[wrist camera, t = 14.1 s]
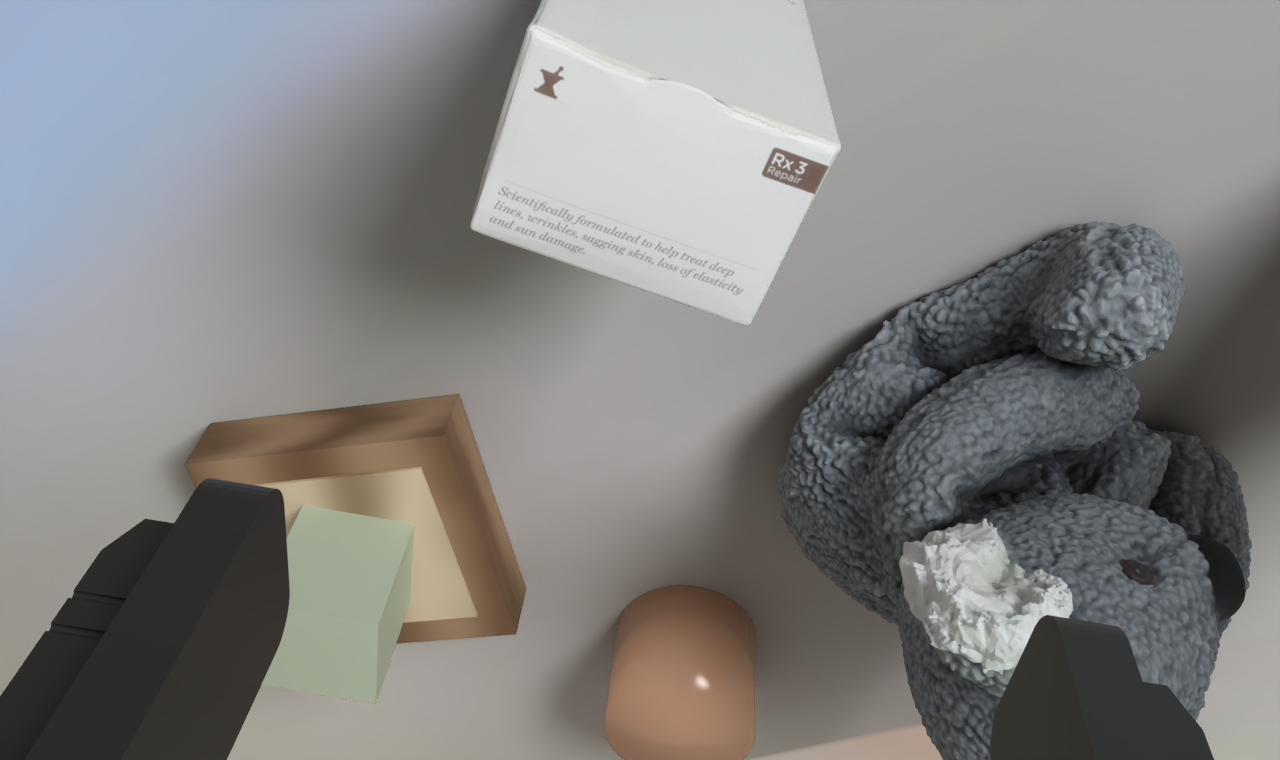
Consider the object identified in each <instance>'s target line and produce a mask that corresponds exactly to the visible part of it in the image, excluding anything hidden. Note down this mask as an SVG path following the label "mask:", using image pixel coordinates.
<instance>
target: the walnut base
mask: <svg viewBox="0 0 1280 760" xmlns="http://www.w3.org/2000/svg"><path fill="white" fill-rule="evenodd" d="M185 466H186V468H187V470H188V472H189V474H190V476H191V478H192V480H193V482H194V483H195V485H196V487H198V486H199V484H200V483H201V482H202V481H204V480H205V479H208V478H212V479H219V480H225V481H231V482H237V483H244V484H250V485H256V486H262V487H269V488H275V489H279V490H280V491H281V493H282V495H283V499H284V508H285V523H286V539H287V537H288V535H289V533H290V531H291V528H292V526H293V524H294V522H295V520H296V518H297V516H298V514H299V512H300V510H301V508H302V506H303V505H306V506H312V507H318V508H324V509H330V510H336V511H341V512H347V513H353V514H359V515H365V516H371V517H376V518H382V519H388V520H394V521H400V522H406V523H412V524H414V542H413V560H412V578H411V595H410V604H409V607H408V610H407V613H406V616H405V619H404V622H403V625H402V628H401V631H400V634H399V637H398V640H397V643H409V642H422V641H435V640H448V639H460V638H473V637H486V636H499V635H512V634H516V632H517V628H518V623H519V619H520V614H521V610H522V605H523V601H524V597H525V592H526V587H525V584H524V581H523V578H522V575H521V573H520V570H519V567H518V564H517V561H516V558H515V555H514V552H513V549H512V546H511V544H510V541H509V538H508V535H507V532H506V529H505V526H504V523H503V520H502V517H501V514H500V512H499V509H498V506H497V503H496V500H495V497H494V494H493V491H492V488H491V485H490V483H489V480H488V477H487V474H486V471H485V468H484V465H483V462H482V459H481V456H480V454H479V451H478V448H477V445H476V442H475V439H474V436H473V433H472V430H471V427H470V425H469V422H468V419H467V416H466V413H465V410H464V407H463V404H462V401H461V398H460V396H459V394H457V395H449V396H440V397H432V398H423V399H415V400H406V401H398V402H389V403H381V404H372V405H363V406H355V407H346V408H338V409H329V410H321V411H312V412H304V413H295V414H287V415H278V416H269V417H261V418H252V419H244V420H235V421H227V422H218V423H211V424H210V425H209V427H208V429H207V430H206V432H205V433H204V435H203V436H202V438H201V439H200V441H199V443H198V444H197V446H196V447H195V449H194V450H193V452H192V454H191V455H190V457H189V458H188V460H187V461H186V463H185Z"/></svg>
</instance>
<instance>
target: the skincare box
mask: <svg viewBox="0 0 1280 760" xmlns="http://www.w3.org/2000/svg"><path fill="white" fill-rule="evenodd" d="M840 149H841V145H840V141H839V137H838V134H837V130H836V126H835V122H834V118H833V115H832V111H831V107H830V103H829V100H828V96H827V92H826V88H825V85H824V81H823V76H822V72H821V68H820V63H819V60H818V56H817V52H816V48H815V44H814V41H813V37H812V33H811V29H810V25H809V21H808V17H807V13H806V9H805V5H804V1H803V0H541V2H540V5H539V7H538V9H537V12H536V14H535V16H534V18H533V20H532V22H531V23H530V24H529V26H528V27H527V30H526V33H525V36H524V39H523V43H522V46H521V49H520V52H519V56H518V59H517V62H516V65H515V68H514V71H513V74H512V77H511V80H510V84H509V87H508V90H507V94H506V97H505V100H504V104H503V107H502V110H501V114H500V117H499V121H498V124H497V127H496V131H495V134H494V138H493V141H492V145H491V148H490V151H489V155H488V158H487V162H486V165H485V169H484V172H483V176H482V180H481V184H480V188H479V191H478V195H477V199H476V203H475V207H474V211H473V215H472V219H471V223H470V228H471V229H472V230H473V231H476V232H478V233H481V234H483V235H486V236H489V237H492V238H494V239H497V240H500V241H503V242H506V243H509V244H512V245H515V246H518V247H521V248H523V249H526V250H529V251H532V252H535V253H538V254H540V255H543V256H546V257H549V258H552V259H555V260H558V261H560V262H563V263H566V264H569V265H572V266H575V267H578V268H580V269H583V270H586V271H589V272H592V273H595V274H598V275H600V276H603V277H606V278H609V279H612V280H615V281H617V282H620V283H623V284H626V285H629V286H632V287H635V288H638V289H641V290H643V291H646V292H649V293H652V294H655V295H658V296H661V297H664V298H667V299H669V300H672V301H675V302H678V303H681V304H684V305H687V306H690V307H693V308H695V309H698V310H701V311H704V312H707V313H710V314H713V315H716V316H718V317H721V318H724V319H727V320H730V321H733V322H735V323H738V324H741V325H745V326H748V325H750V323H751V321H752V319H753V317H754V315H755V313H756V311H757V310H758V308H759V306H760V304H761V302H762V300H763V298H764V296H765V294H766V292H767V290H768V288H769V286H770V284H771V282H772V280H773V278H774V276H775V274H776V272H777V270H778V268H779V266H780V264H781V262H782V260H783V258H784V256H785V254H786V252H787V250H788V248H789V246H790V244H791V242H792V240H793V238H794V237H795V235H796V233H797V231H798V229H799V227H800V225H801V223H802V221H803V219H804V217H805V215H806V214H807V212H808V210H809V208H810V206H811V204H812V202H813V200H814V198H815V196H816V195H817V193H818V191H819V189H820V187H821V185H822V183H823V181H824V179H825V178H826V176H827V174H828V172H829V170H830V168H831V166H832V164H833V162H834V161H835V159H836V157H837V155H838V153H839V151H840Z"/></svg>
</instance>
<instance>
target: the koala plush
mask: <svg viewBox="0 0 1280 760" xmlns="http://www.w3.org/2000/svg"><path fill="white" fill-rule="evenodd" d="M1183 276H1184V274H1183V271H1182V266H1181V265H1180V264H1179V256H1178V254H1176V253H1175V251H1174V250H1173V249H1172V244H1171V243H1170V242H1167V241H1165V240H1164V239H1163V238H1162V237H1161V236H1160V235H1158V233H1157V232H1156V231H1154V230H1152V229H1150V228H1145V227H1142V226H1141V227H1140V226H1137V225H1136V224H1132V225H1129V226H1126V227H1120V226H1119V225H1117V224H1115V223H1109V224H1108V223H1106V222H1101V223H1098V222H1091V223H1089V224H1087V223H1086V224H1084V225H1082V224H1080V225H1075V226H1074V227H1073V228H1069V229H1066V230H1064V231H1062V232H1061V233H1058V234H1056V235H1055V237H1052V238H1050V237H1048V238H1047V239H1046V241H1038V242H1036V243H1035V244H1033V245H1032V247H1028V248H1027V250H1026V251H1024V252H1023V253H1019V254H1017V255H1016V256H1012V257H1010V258H1009V259H1008V260H1005V259H1003V260H1000V261H999V262H998V263H997V264H996V267H994V266H992V267H990V268H987V269H986V270H985V271H983V272H982V273H979V274H978V276H977V278H973V279H969V280H967V281H966V282H965V283H961V284H957V285H953V286H952V287H951V288H949V289H946V290H941V291H939V292H933V293H932V294H931V295H930V296H927V297H921V299H920V300H919V302H917V301H913V303H911V304H910V305H905V306H904V307H903V308H902V309H900V310H898V314H897V315H896V317H894V318H892V319H891V322H890V321H887V320H885V321H884V322H883V325H884V326H883V328H882V329H881V330H880V332H879V333H878V334H877V335H876V337H875V338H874V339H873V340H871V341H870V342H868V343H866V344H864V345H863V346H862V348H861V349H860V350H858V351H856V352H854V353H850V354H848V356H847V358H846V360H845V362H843V368H841V367H836V368H835V369H834V371H833V373H832V375H831V376H829V377H828V378H827V380H826V381H825V382H823V383H822V384H821V386H819V387H818V388H817V389H815V390H814V392H813V395H812V396H810V397H809V399H808V407H804V408H803V410H802V411H801V414H800V417H799V419H798V421H797V422H796V423H795V427H794V428H793V431H792V434H793V435H792V436H791V437H790V439H789V442H790V443H789V447H788V451H789V452H788V453H787V456H786V462H785V464H784V465H783V466H782V467H781V469H780V478H779V481H778V483H779V487H778V490H779V492H780V495H781V498H782V503H783V511H782V514H781V516H782V517H783V518H784V521H785V523H787V525H788V528H789V530H790V532H792V533H794V536H795V539H796V541H797V543H798V544H799V546H801V548H802V551H803V552H804V554H805V556H806V558H808V559H810V560H811V561H813V562H814V563H815V564H816V565H817V566H818V568H819V569H820V570H821V572H823V573H824V574H825V575H827V577H828V578H830V579H831V580H832V581H833V582H835V583H836V585H837V587H840V588H841V589H842V592H846V594H850V595H851V596H852V598H853V599H855V600H856V601H858V603H861V604H864V605H865V607H866V608H867V609H868V610H870V611H874V612H875V613H876V614H880V615H881V617H882V618H884V619H886V620H887V621H888V622H889V623H895V624H897V625H899V631H900V637H901V639H902V641H903V644H902V647H903V656H904V663H905V667H906V672H907V677H908V684H909V686H910V689H911V693H912V696H913V699H914V701H915V707H916V708H917V709H918V712H919V714H920V715H921V716H922V724H923V725H924V726H925V728H926V731H927V735H928V736H929V737H930V738H931V740H932V743H933V744H935V746H936V748H937V749H938V751H939V752H940V755H941V757H942V758H943V760H991V759H990V740H991V730H992V724H993V720H994V715H995V712H996V709H997V707H998V704H999V702H1000V700H1001V698H1002V696H1003V693H1004V691H1005V689H1006V687H1007V685H1008V683H1009V681H1010V679H1011V676H1012V674H1013V672H1014V670H1015V668H1016V666H1017V664H1018V661H1019V659H1020V657H1021V655H1022V653H1023V651H1024V649H1025V647H1026V644H1027V642H1028V640H1029V638H1030V636H1031V634H1032V632H1033V629H1034V627H1035V626H1036V624H1037V622H1038V621H1039V620H1040V619H1041V618H1042V617H1043V616H1045V615H1051V616H1057V617H1063V618H1070V619H1076V620H1082V621H1088V622H1095V623H1101V624H1107V625H1113V626H1118V627H1120V628H1121V629H1122V630H1123V631H1124V632H1125V634H1126V636H1127V638H1128V640H1129V643H1130V646H1131V649H1132V652H1133V655H1134V658H1135V660H1136V663H1137V666H1138V669H1139V672H1140V675H1141V678H1142V681H1143V682H1148V683H1154V684H1160V685H1166V686H1168V687H1169V689H1170V690H1171V691H1172V692H1173V694H1174V695H1175V696H1176V697H1177V699H1178V700H1179V701H1180V702H1181V704H1182V705H1183V706H1184V707H1185V709H1186V710H1187V711H1188V712H1189V714H1190V715H1191V716H1192V717H1193V719H1194V720H1195V721H1196V719H1197V718H1198V716H1199V711H1200V710H1201V708H1203V707H1204V706H1205V701H1204V697H1205V695H1204V692H1205V691H1207V689H1208V687H1209V684H1210V675H1211V674H1212V672H1213V670H1214V668H1215V661H1216V659H1217V656H1216V655H1217V653H1218V648H1219V646H1220V644H1219V640H1220V638H1221V636H1222V632H1223V631H1224V630H1225V629H1226V628H1227V627H1228V624H1229V623H1230V622H1231V616H1232V615H1234V614H1235V613H1236V611H1237V610H1238V609H1239V608H1240V607H1241V605H1242V603H1243V601H1244V598H1245V592H1246V589H1248V588H1249V586H1250V585H1249V582H1248V580H1247V578H1248V577H1249V574H1250V573H1249V571H1250V570H1249V566H1250V562H1251V557H1250V549H1251V548H1252V545H1251V540H1250V538H1249V535H1248V533H1249V530H1248V522H1247V518H1246V507H1245V504H1244V501H1243V494H1242V492H1241V488H1240V487H1241V486H1240V485H1239V483H1238V476H1237V473H1236V472H1234V471H1233V470H1232V468H1231V466H1232V465H1231V463H1230V462H1228V460H1227V459H1226V458H1225V457H1224V456H1223V455H1222V454H1221V452H1220V450H1215V448H1214V447H1209V448H1203V447H1202V446H1201V445H1200V438H1199V437H1198V436H1196V435H1187V434H1184V433H1178V432H1168V431H1167V430H1165V431H1157V430H1156V431H1155V430H1151V429H1147V428H1146V426H1145V424H1144V423H1140V422H1139V421H1132V418H1133V417H1134V416H1135V413H1136V411H1138V410H1139V406H1138V404H1137V403H1138V402H1139V398H1140V397H1141V395H1140V392H1139V391H1138V390H1137V389H1136V387H1135V384H1134V383H1133V382H1132V381H1131V380H1130V379H1129V378H1128V376H1127V374H1126V373H1125V371H1124V370H1125V369H1128V368H1130V367H1131V366H1132V365H1135V364H1137V363H1139V362H1141V361H1143V360H1145V359H1146V358H1149V357H1150V356H1151V354H1155V353H1157V352H1159V351H1162V350H1164V348H1165V347H1164V342H1166V341H1167V340H1168V337H1169V336H1170V335H1171V333H1172V332H1173V329H1174V326H1175V323H1176V320H1177V316H1178V311H1179V306H1180V305H1181V303H1180V302H1181V300H1182V298H1183V296H1184V293H1185V285H1184V284H1183V283H1182V280H1183Z"/></svg>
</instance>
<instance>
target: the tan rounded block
mask: <svg viewBox="0 0 1280 760" xmlns="http://www.w3.org/2000/svg"><path fill="white" fill-rule="evenodd" d="M604 728H605V734H606V737H607V740H608V742H609V744H610V745H611V747H612V748H613V750H614V751H615V752H616V753H617V754H618V755H619V756H620V757H621V758H622V759H624V760H743V759H744V758H745V757H746V756H747V755H748V753H749V752H750V750H751V748H752V746H753V743H754V739H755V632H754V627H753V624H752V622H751V620H750V618H749V616H748V615H747V614H746V612H745V611H744V610H743V609H742V608H741V607H740V606H739V605H738V604H736V603H735V602H734V601H732V600H731V599H729V598H728V597H726V596H724V595H722V594H720V593H717V592H715V591H712V590H709V589H705V588H700V587H694V586H669V587H663V588H659V589H655V590H652V591H649V592H647V593H644V594H643V595H641V596H639V597H637V598H636V599H634V600H633V601H632V602H631V603H630V604H629V605H628V606H627V607H626V608H625V609H624V611H623V612H622V614H621V616H620V618H619V621H618V624H617V632H616V639H615V647H614V654H613V662H612V670H611V677H610V685H609V693H608V700H607V708H606V715H605V724H604Z"/></svg>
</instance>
